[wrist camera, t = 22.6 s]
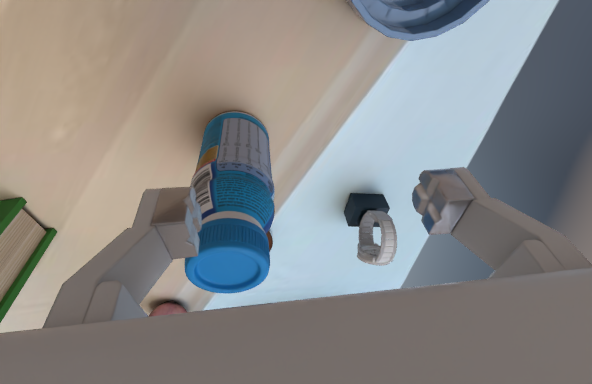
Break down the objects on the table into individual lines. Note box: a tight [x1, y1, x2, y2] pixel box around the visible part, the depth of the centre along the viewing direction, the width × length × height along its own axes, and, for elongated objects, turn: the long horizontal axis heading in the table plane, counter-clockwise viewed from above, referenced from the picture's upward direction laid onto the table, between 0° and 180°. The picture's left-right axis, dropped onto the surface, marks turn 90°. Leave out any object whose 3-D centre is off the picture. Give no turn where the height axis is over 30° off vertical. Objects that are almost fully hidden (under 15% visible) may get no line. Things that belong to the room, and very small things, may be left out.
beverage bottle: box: [185, 111, 275, 293], centre depth 31 cm, size 8×8×20 cm
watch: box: [344, 193, 397, 265], centre depth 45 cm, size 6×8×11 cm
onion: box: [149, 301, 187, 317], centre depth 62 cm, size 8×8×7 cm
